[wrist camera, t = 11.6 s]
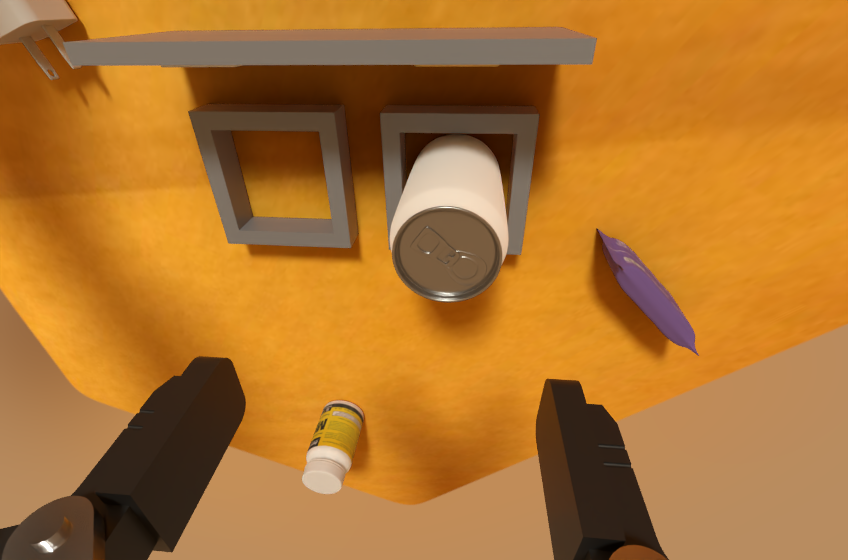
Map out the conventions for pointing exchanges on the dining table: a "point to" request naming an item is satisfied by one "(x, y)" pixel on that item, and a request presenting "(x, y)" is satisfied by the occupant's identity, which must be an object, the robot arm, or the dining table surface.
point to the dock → (330, 119)
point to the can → (451, 221)
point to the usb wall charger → (36, 26)
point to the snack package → (648, 292)
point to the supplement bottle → (333, 447)
